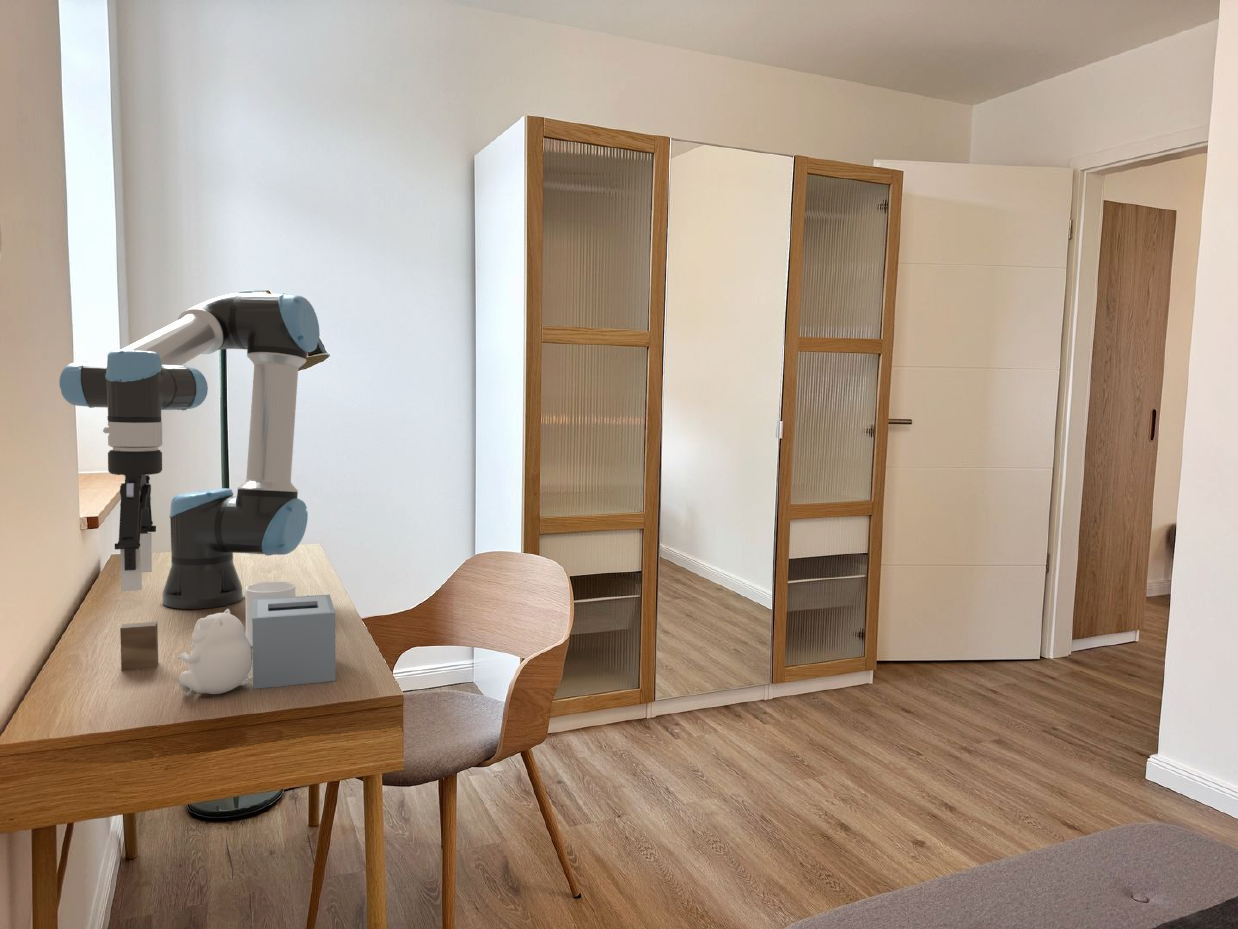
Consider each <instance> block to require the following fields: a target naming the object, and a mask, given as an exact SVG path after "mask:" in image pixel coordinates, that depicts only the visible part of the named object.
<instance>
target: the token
mask: <svg viewBox="0 0 1238 929" xmlns="http://www.w3.org/2000/svg"><path fill="white" fill-rule="evenodd" d="M158 632H159V631H158V621H149V622H148V621H146V622H145V621H144V622H130V623H122V624H121V626H120V632H119V633H120V635H119V636H120V665H121V667H120V669H121V671H122V672H124V671H125V672H126V671H136V669H138V670H150V669H157V668H158V664H159V640H158V639H159V638H158V637H159V634H158Z"/></svg>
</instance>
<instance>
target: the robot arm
mask: <svg viewBox="0 0 1238 929" xmlns="http://www.w3.org/2000/svg"><path fill="white" fill-rule="evenodd" d="M319 342H320V325H319V319H318V316H317V313H316V311H315V308H314V307H313V305H312V304H311V302H310V301H309V300H308V299H307V298H305V297H304V296H301V295H299V294H298V295H295V294H286V293H242V292H241V293H240V292H235V293H228V294H225V295H220V296H217V297H214V298H211V299H208V300H206V301H203V302H201V303H198V304H196V305H193V306H192V307H190V308H188V309H186V310H184V311H183V312H181V314H179V317H178V318H177V320H175V321H174V322H172V323H169V324H167V326H164V327H162V328H160V329H157V330H156V331H155V332H152V333H150V334H149V335H147V336H144V337H143V338H140V339H138V340H137V341H135V342H133V343H131V344H128V345H127V346H125V347H124V348H121V349H116V350H115V349H114V350H111V351H110V352H109V353H108V354H107V356H105V357H103V358H101V359H99V360H96V361H92V362H88V361H81V362H80V361H79V362H78V361H77V362H72V363H71V362H70V363H69V364H67V365H66V366H64V368H63V369H62V371H61V373H60V376H59V380H58V381H59V388H60V392H61V395H62V397H63V399H64V400H65V401H66V402H68V403H69V404H70V405H73V406H75V407H76V406H77V407H78V406H79V407H87V408H90V409H91V408H107V426H106V427H103V430H102V431H103V433H104V434H108V435H107V446H109V447H111V448H112V449H110V450H109V451H108V452H107V470H108V473H109V474H111V475H116V476H117V475H118V476H124V482H123V483H120V486H119V494H120V504H119V505H120V510H119V524H118V525H119V529H118V530H119V531H118V541H117V543H114V550H119V551H120V552H119V553H120V555H119V556H120V591H121V592H131V591H132V592H133V591H142V590H143V585H142V584H143V582H142V580H143V578H142V576H143V574H142V573H152V571H153V562H152V559H153V557H152V549H153V548H152V533H156V532H157V525H154V523H153V522H154V521H153V519H152V517H153V515H152V506H151V505H152V502H151V500H152V498H151V497H152V496H151V494H152V484H151V483H150V480H151V476H150V475H157V474H160V473H162V471H163V452H162V451H161V450H160V449H159V448H160V447H161V446H162V445H163V421H162V411H183V412H184V411H187V410H191V409H195V408H197V407H200V405H202V404H203V403H204V401H205V400H206V399H207V396H208V390H209V386H208V381H207V379H206V377H205V376H204V373H202V372H201V371H200V370H199V369H197V368H195V367H192V366H187V365H185V364H186V363H187V362H189V361H191V360H194V359H195V358H197V357H198V356H199V355H211V354H213V353H215V352H217V351H219V350H231V349H232V350H247V351H246V357H247V358H248V359H249V361H250V362H252V364H253V376H252V377H253V380H252V392H251V405H250V406H251V407H250V408H251V409H250V422H249V436H248V449H247V450H248V451H247V462H246V464H247V467H246V479H245V481H244V482H242V483H241V484H240V485H239V486H238V487H237V494H236V496H234V492H233V490H232V489H231V488H214V489H204V490H196V491H190V492H184V493H180V494H177V495H175V496H173V498H172V499H171V501H170V514H169V519H170V554H171V555H170V556H171V565H170V566H171V567H170V569H169V572H168V575H167V577H166V578H167V579H166V581H165V584H164V587H163V589H162V605H163V606H166V607H169V608H172V609H173V608H174V609H179V610H181V609H182V610H183V609H184V610H185V609H186V610H195V609H196V610H198V609H199V610H200V609H210V608H219V607H223V606H227V605H231V604H234V603H237V602H239V601H241V600H242V599H243V585H242V582H241V580H240V578H239V575H238V572H237V568H236V567H235V563H234V554H251V555H252V554H253V555H265V556H274V555H279V556H282V555H288V554H291V553H292V552H294V551H295V550H296V549H297V548H298V546H299V544H300V543H301V542H302V540H303V539H304V535H305V532H306V529H307V526H308V525H307V524H308V518H309V515H308V514H309V513H308V512H309V511H308V510H307V508H308V507H307V505H306V503H305V502H304V500H302V499H300V498H298V495H299V490H298V489H297V488H296V487H295V486H294V484H293V483H292V470H293V469H292V468H293V453H294V439H295V438H294V437H295V422H296V421H295V420H296V407H297V406H296V405H297V393H298V392H297V391H298V379H299V378H298V377H299V376H298V375H299V369H300V368H301V367H302V366H304V365H305V364H306V363H307V357H308V353H311V352H314V351H315V350H316V349H317V348H318V345H319Z"/></svg>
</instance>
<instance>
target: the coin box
mask: <svg viewBox="0 0 1238 929" xmlns="http://www.w3.org/2000/svg"><path fill="white" fill-rule="evenodd" d="M252 627H253V647H252V690H256V689H265V688H266V689H267V688H268V689H269V688H278V687H287V686H294V685H295V686H296V685H305V684H306V685H307V684H318V683H328V682H336V610H335V607H334V604H333V600H332V598H331V595H330V594H319V595H318V594H317V595H301V596H299V595H298V596H296V597H282V598H265V599H253V616H252Z"/></svg>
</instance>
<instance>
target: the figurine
mask: <svg viewBox="0 0 1238 929" xmlns="http://www.w3.org/2000/svg"><path fill="white" fill-rule="evenodd" d="M191 641H192V643H191V644H190V646H189V648H190V649H191V652H190V655H189V654H188V652H186V651H183V652H181V653H180V654H179V655H178V656H177V660H182V661H183V662H185V663H187V664H188V666H189V667H188V668H189V669H188V670H185V671H182V672H181V674H180V675H179V678H178V680H179V685H180V688H181V689H182V691H183V692H184V693H189V692H190V691H192V692H194V693H197V694H203V693H204V694H208V695H220V694H224V693H227V692H230V691H232V690H234V689H235V688H237V687H239V686H245V685H248V684H250V683H251V682H253V676H250V675H249V673H250V671H251V668H252V666H253V648H252V647H251V645H250V643H249V641H248V640H247V638H246V633H245V628H244V625H243V623H242V621H241V620H240V618H238V617H236V616H235V615H234V614H231V609H229V608H226V610H224V612H216V613H214V614H208V615H206V616H205V617H201V618H198V620H197V621H196V622H195V625H194V629H193V631H192V634H191Z"/></svg>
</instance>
